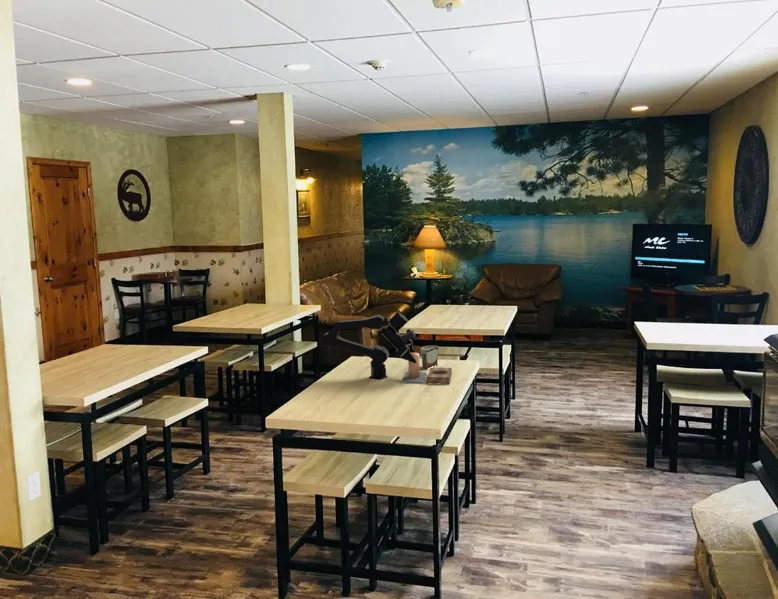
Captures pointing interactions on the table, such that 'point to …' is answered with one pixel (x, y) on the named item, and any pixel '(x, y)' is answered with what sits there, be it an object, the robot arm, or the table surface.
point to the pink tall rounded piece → (414, 367)
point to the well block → (439, 375)
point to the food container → (429, 356)
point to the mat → (414, 380)
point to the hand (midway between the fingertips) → (416, 360)
